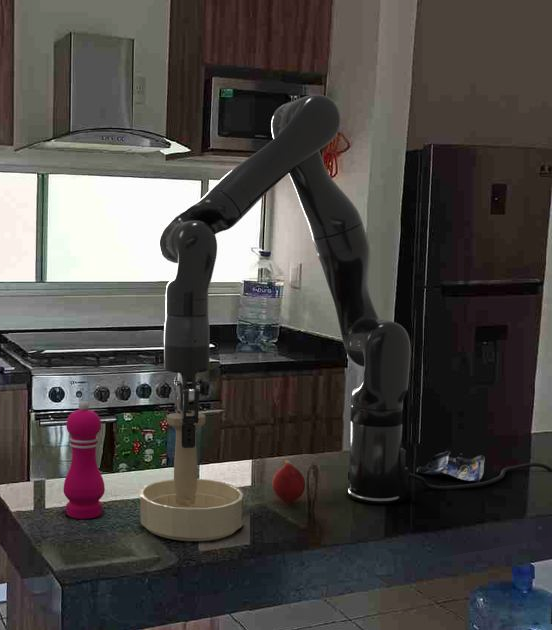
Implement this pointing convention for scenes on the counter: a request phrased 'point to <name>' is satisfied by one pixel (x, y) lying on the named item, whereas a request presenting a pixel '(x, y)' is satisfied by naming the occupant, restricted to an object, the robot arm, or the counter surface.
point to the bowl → (192, 511)
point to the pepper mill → (83, 465)
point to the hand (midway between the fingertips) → (186, 442)
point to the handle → (185, 463)
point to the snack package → (455, 467)
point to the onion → (288, 483)
